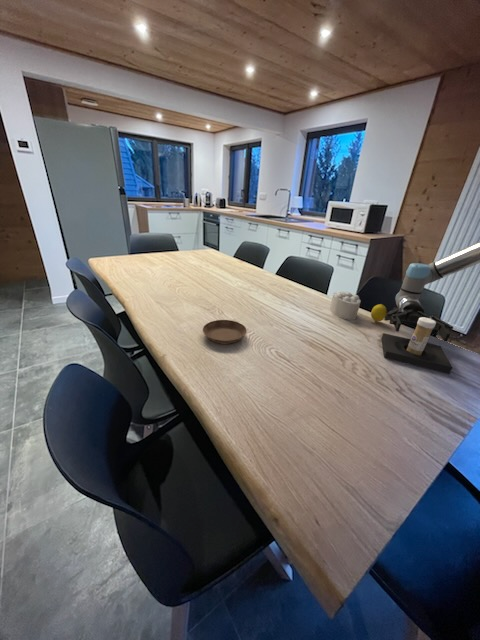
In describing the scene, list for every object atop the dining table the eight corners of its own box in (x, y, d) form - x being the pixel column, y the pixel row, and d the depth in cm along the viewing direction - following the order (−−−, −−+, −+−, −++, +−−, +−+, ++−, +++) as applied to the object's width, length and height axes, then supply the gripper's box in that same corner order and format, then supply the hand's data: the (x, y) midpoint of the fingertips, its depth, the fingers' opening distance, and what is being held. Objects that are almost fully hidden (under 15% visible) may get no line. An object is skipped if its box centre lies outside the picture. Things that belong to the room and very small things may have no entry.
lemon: (383, 321, 112) (389, 303, 108) (382, 325, 107) (388, 307, 104) (369, 317, 114) (375, 300, 111) (367, 322, 110) (373, 304, 106)
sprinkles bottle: (401, 353, 89) (415, 317, 83) (411, 351, 90) (426, 316, 84) (413, 360, 85) (429, 323, 79) (423, 359, 86) (440, 322, 80)
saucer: (199, 345, 83) (199, 338, 82) (206, 324, 97) (206, 318, 96) (245, 349, 84) (246, 341, 82) (246, 327, 97) (246, 321, 96)
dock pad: (437, 351, 91) (440, 345, 90) (449, 374, 79) (452, 367, 78) (381, 338, 97) (383, 332, 96) (384, 358, 85) (386, 351, 84)
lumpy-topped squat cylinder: (349, 308, 123) (354, 290, 119) (361, 320, 111) (367, 301, 107) (327, 306, 122) (331, 289, 118) (337, 318, 110) (342, 299, 107)
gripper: (444, 325, 100) (463, 352, 82) (373, 311, 107) (376, 333, 90) (452, 307, 96) (474, 331, 79) (378, 294, 104) (383, 313, 86)
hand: (422, 332), depth 84 cm, fingers open, 13 cm apart
